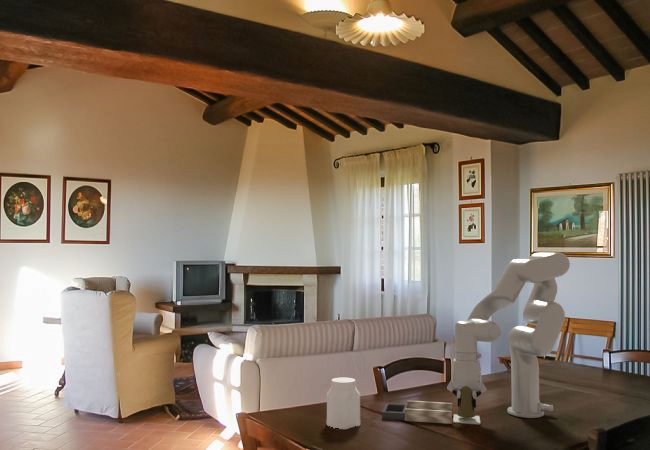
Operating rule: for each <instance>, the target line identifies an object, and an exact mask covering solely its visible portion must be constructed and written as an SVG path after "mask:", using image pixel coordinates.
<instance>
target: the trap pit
mask: <svg viewBox="0 0 650 450" xmlns="http://www.w3.org/2000/svg"><path fill="white" fill-rule="evenodd" d="M405 408H408V405H407V403H406V404H403V403H402V404H400V403H385V404H384V407H383V409H382V412H381V419H382V420H387V421H388V420H390V421H404V422H406V421H405Z"/></svg>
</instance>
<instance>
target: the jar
mask: <svg viewBox="0 0 650 450" xmlns="http://www.w3.org/2000/svg"><path fill="white" fill-rule="evenodd" d="M356 383H357V381H356V379H355V378H353V377H347V376H346V377H344V376H343V377H334V378H331V384H330V385H331V387H330V388H329V390H328V391H327V393H326V425H327V426H328V427H329V426H330V427H329V428H331V427H333V428H332V429H335V428H339V429H338V430H348V429H351V428H355V426H356V427H360V426H361V393H360V392H359V390H358V388H357V386H356Z"/></svg>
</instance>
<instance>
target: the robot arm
mask: <svg viewBox="0 0 650 450" xmlns="http://www.w3.org/2000/svg"><path fill="white" fill-rule="evenodd" d="M570 263H571V262H570V260H569V257H568V256H567V255H566V254H565V253H562V252H554V251H551V252H550V251H546V252H545V251H542V252H541V251H540V252H535V253H533V254H531V255H530V256H529V258H516V259H515V258H514V259H512V260H511V261H509V263H508V264H507V265H506V267H505V269H504V271H503V273H502V274H501V276H500V278H499V280H498V281H497V283H496V285H495V286H494V288H493V289H492V291H491V292H489V294H487V295H486V296H485V297H484V298H483V299H482V300H480V301H479V302H478V303H476V305H475V306H474V308H473V310H471V313H470V314H469V316H468V318H467V319H466V320H459V321H457V322H455V325H454V344H455V345H454V348H455V349H454V352H455V353H454V355H455V356H454V357H455V358H454V359H453V360H452V363H451V364H452V365H451V380H450V381H449V383H448V385H447V387H446V389H447V391H449V392H450V393H452V394H453V395H454V396H455V397H456V398H457V407H459V402H460V405H461V398H460V395H461V392H460V389H462V387H464V386H467V387H469V388H470V389H471V390H473V391H472V408H473V411H474V410H475V409H476V408H477V398H478V397H480V396H481V394H483V393H486V392H487V388H486V386H485V384H484V383H483V381H482V368H481V363H480V360H479V359H480V358H482V353H479V352H478V342H480V343H481V342H485V343H492V342H495V341H497V340H498V339H499V338H500V336H501V327H500V326H499V324H497V323H496V322H495V321H493V320H492V321H491V320H490V318H492V316H493V315H494V314H495V313H497V312H498V311H501V310H502V309H503V310H504V309H506V308H508V307H510V306H512V305H513V304H515V302H516V300H517V299H518V297H519V295H520V293H521V291H522V290H523V288H524V287H525V285H526V283H531V284H533V287H532V290H531V292H530V294H529V297H528V299H527V302H526V304H525V305H524V308H523V312H522V317H523V319H524V321H525V322H526V323H527V324H529V325H532V326H527V325H517V326H514V327H513V328H512V329H511V330H510V331H509V333H508V336H507V339H508V340H507V341H508V348H509V354H510V362H511V363H510V365H511V366H510V367H511V370H510V372H511V374H510V375H511V377H510V378H511V381H510V382H511V406H509V407H508V408H507V413H508V414H509V415H512V416H515V417H518V418H526V419H536V418H541V417H543V416H545V411H551V412H552V411H554V405H553V404H548V403H542V402H541V401H540V379H539V378H540V369H539V367H540V364H539V360H538V357H546V356H548V355H550V353H551V352H552V351H553V350H554V347H555V345H556V343H557V341H558V338H559V336H560V334H561V331H562V329H563V327H564V324H565V319H566V316H565V315H566V314H565V309H564V307H563V306H561V304H560V303H559V302H556V301H555V300H556V297H557V294H558V284H557V282H556V278H559V277H562V276H563V275H565V274H566V273H567V272H568V271H569V269H570V265H571V264H570ZM533 326H535V327H533Z"/></svg>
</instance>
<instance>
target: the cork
mask: <svg viewBox="0 0 650 450" xmlns="http://www.w3.org/2000/svg"><path fill="white" fill-rule="evenodd" d="M472 391H473V390H471V389H470V388H469V387H467V386H464V387H462V389H460V392H461V395H460V398H461V405H460V402H459V407H458V406H457V407H458V409H457V415H458V416H460V417H465V418H472V417H475V416H476V413H475V409H474V411H473V408H472V396H473V393H472Z"/></svg>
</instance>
